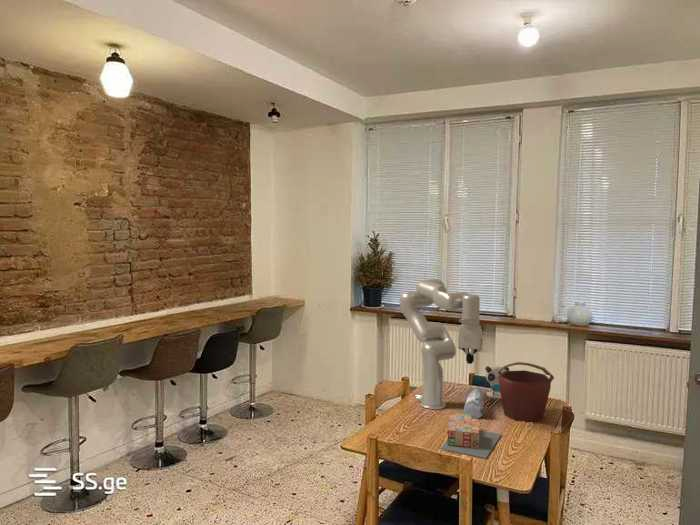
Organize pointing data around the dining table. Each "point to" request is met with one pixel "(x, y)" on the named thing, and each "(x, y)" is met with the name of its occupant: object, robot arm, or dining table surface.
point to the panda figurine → (494, 380)
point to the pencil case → (474, 402)
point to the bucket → (524, 393)
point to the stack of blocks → (463, 431)
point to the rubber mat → (485, 445)
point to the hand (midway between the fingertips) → (469, 363)
